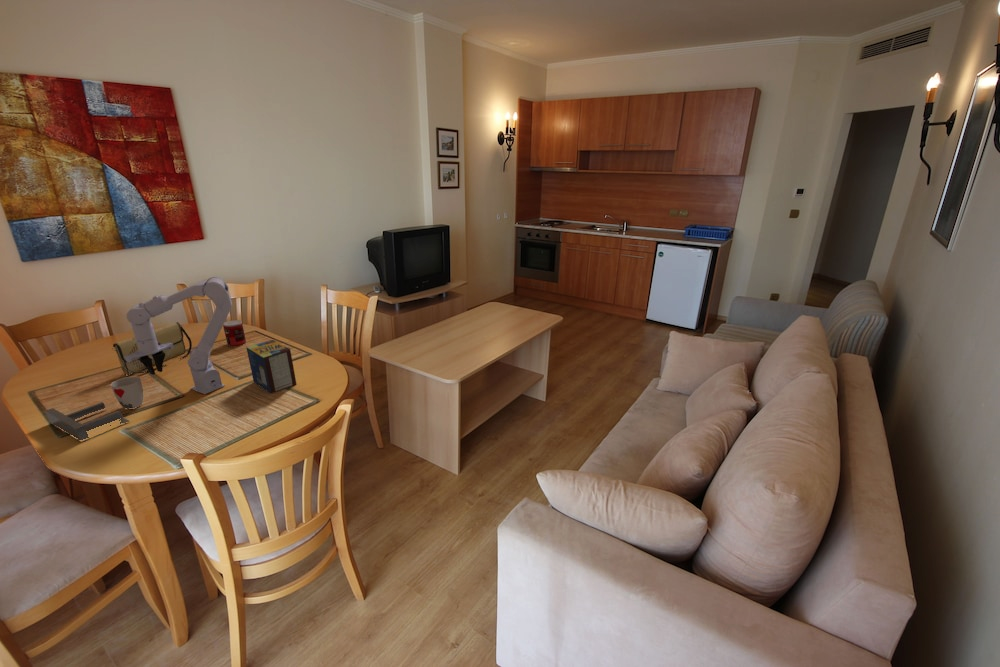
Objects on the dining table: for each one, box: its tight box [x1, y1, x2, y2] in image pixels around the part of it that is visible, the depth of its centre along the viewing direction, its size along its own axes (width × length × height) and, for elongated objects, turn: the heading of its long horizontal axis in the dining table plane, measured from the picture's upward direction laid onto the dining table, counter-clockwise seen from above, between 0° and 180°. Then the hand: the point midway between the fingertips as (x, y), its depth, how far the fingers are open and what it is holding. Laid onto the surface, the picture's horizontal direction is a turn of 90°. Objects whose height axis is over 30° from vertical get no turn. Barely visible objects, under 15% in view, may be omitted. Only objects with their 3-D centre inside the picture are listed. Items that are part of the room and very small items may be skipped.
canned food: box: [222, 319, 247, 347], centre depth 208 cm, size 8×8×11 cm
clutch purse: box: [111, 322, 193, 376], centre depth 185 cm, size 30×7×15 cm, turn 165°
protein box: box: [246, 339, 297, 394], centre depth 170 cm, size 10×15×16 cm
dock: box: [44, 402, 130, 440], centre depth 144 cm, size 22×13×5 cm, turn 63°
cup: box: [110, 376, 144, 409], centre depth 153 cm, size 8×8×10 cm
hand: (156, 372), depth 160 cm, fingers closed
